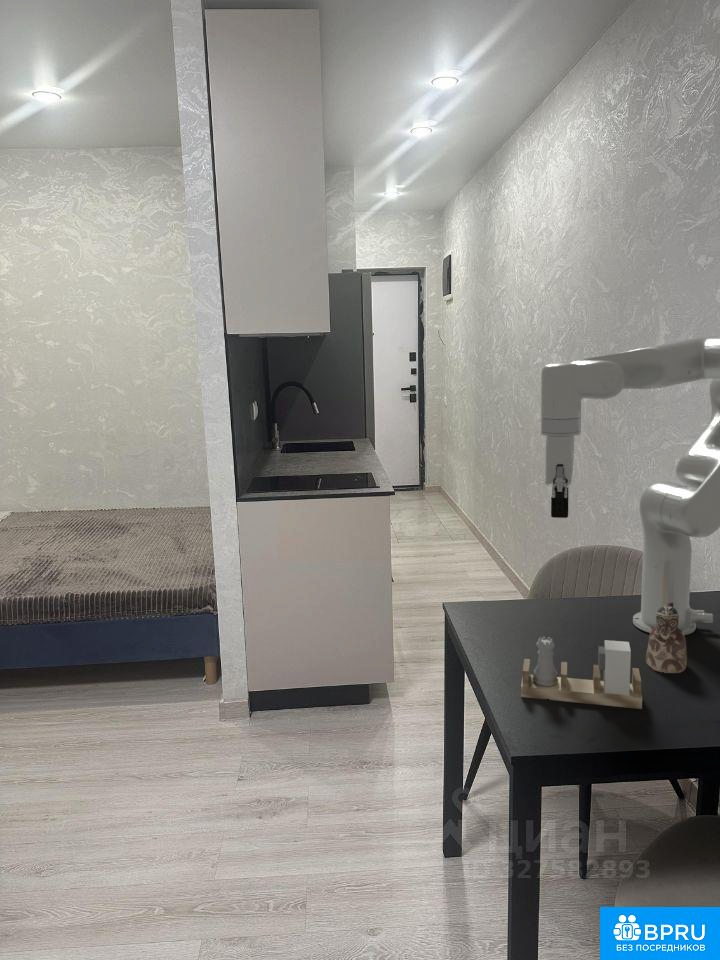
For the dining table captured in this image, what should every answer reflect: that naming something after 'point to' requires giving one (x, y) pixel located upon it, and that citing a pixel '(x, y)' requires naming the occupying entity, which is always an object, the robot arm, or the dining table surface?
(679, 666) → the figurine
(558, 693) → the wooden slotted rack
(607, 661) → the white and grey block
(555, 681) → the rook chess piece
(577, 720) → the dining table surface
